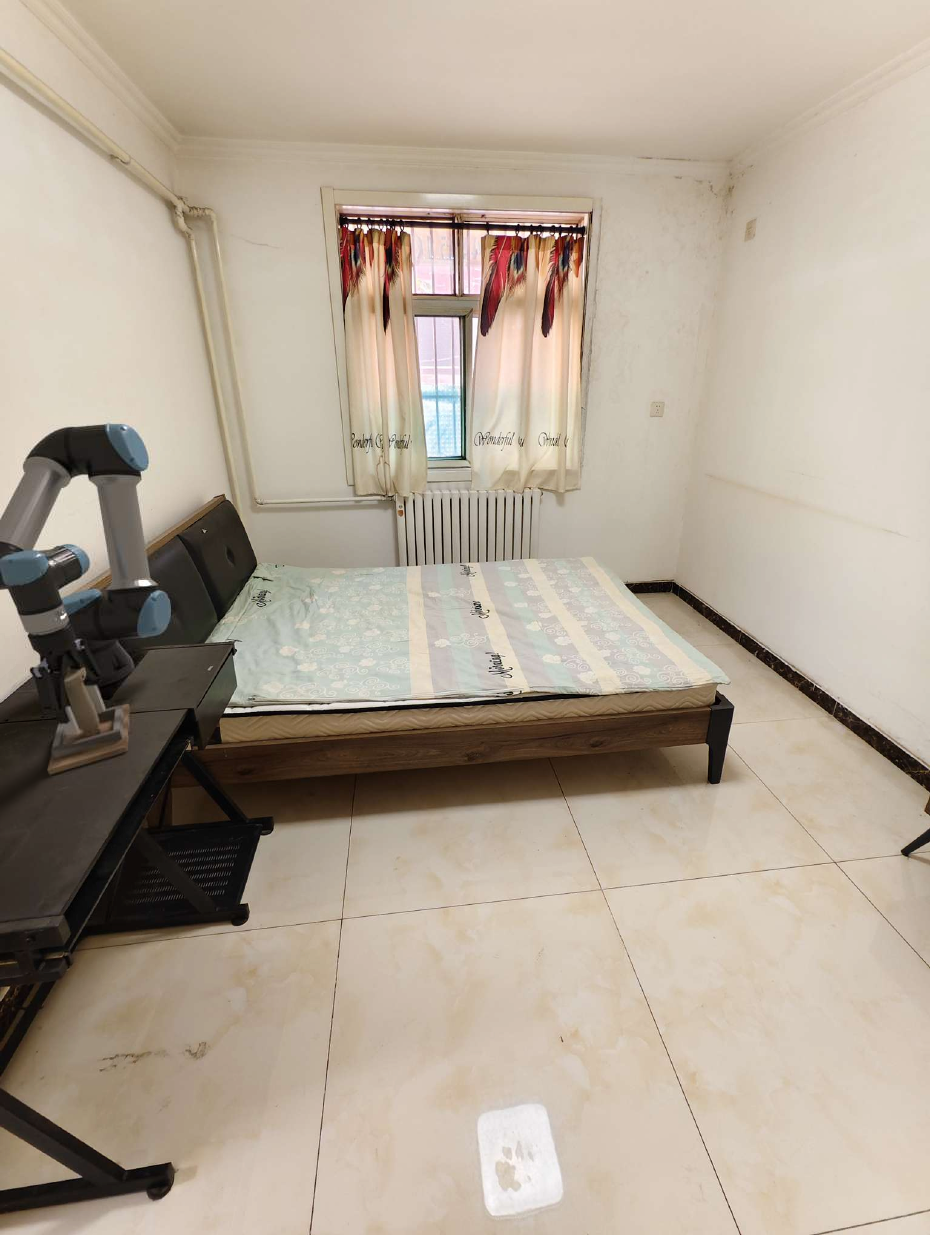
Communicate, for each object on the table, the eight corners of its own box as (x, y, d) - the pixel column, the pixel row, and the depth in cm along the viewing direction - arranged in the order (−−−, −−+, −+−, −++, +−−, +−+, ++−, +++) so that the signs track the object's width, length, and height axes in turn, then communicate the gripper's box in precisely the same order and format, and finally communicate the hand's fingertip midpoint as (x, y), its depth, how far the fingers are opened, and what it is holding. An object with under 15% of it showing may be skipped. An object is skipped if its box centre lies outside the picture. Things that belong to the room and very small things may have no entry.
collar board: (62, 726, 129) (57, 714, 128) (130, 707, 135) (125, 696, 134) (49, 774, 113) (43, 762, 111) (127, 751, 118) (122, 739, 117)
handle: (74, 743, 120) (48, 683, 114) (89, 726, 126) (66, 668, 120) (97, 741, 121) (73, 681, 115) (111, 724, 126) (89, 666, 120)
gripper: (27, 650, 103) (70, 750, 112) (99, 606, 122) (130, 695, 131) (-11, 652, 104) (35, 751, 113) (66, 608, 123) (100, 696, 132)
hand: (86, 721), depth 122 cm, fingers open, 8 cm apart
